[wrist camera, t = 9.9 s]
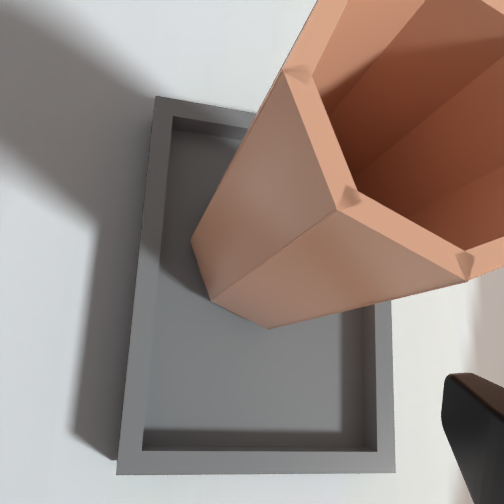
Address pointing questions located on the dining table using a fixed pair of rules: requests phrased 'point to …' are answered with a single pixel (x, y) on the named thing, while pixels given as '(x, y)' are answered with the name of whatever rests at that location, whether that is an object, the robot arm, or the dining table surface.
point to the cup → (365, 165)
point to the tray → (238, 343)
